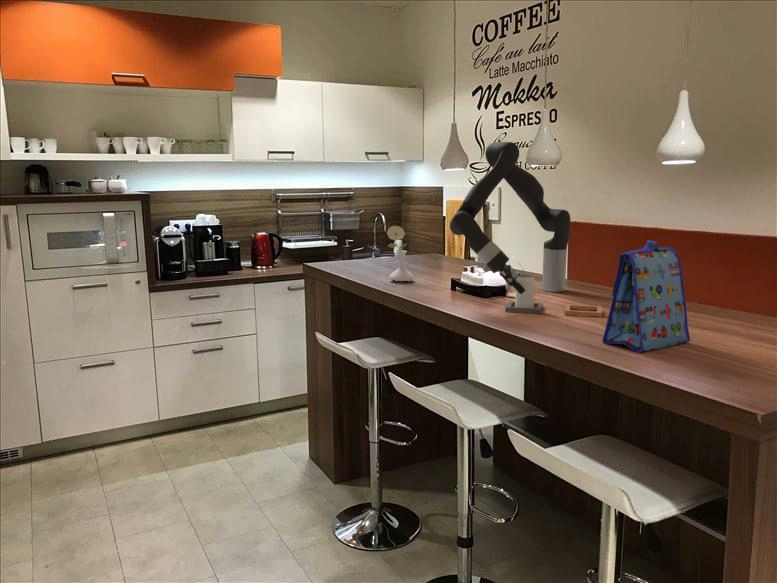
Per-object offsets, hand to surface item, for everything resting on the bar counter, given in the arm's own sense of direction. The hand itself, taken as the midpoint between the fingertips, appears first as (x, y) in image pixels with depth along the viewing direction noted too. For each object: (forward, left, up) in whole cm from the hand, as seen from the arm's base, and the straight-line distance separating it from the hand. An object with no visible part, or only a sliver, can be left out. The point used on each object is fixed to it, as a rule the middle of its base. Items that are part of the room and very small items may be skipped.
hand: (524, 290), depth 228 cm
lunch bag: (+38, +37, -7) cm, 54 cm away
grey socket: (0, 0, -7) cm, 7 cm away
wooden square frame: (0, +20, -7) cm, 21 cm away
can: (0, 0, -7) cm, 7 cm away
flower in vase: (-48, -59, -7) cm, 76 cm away
